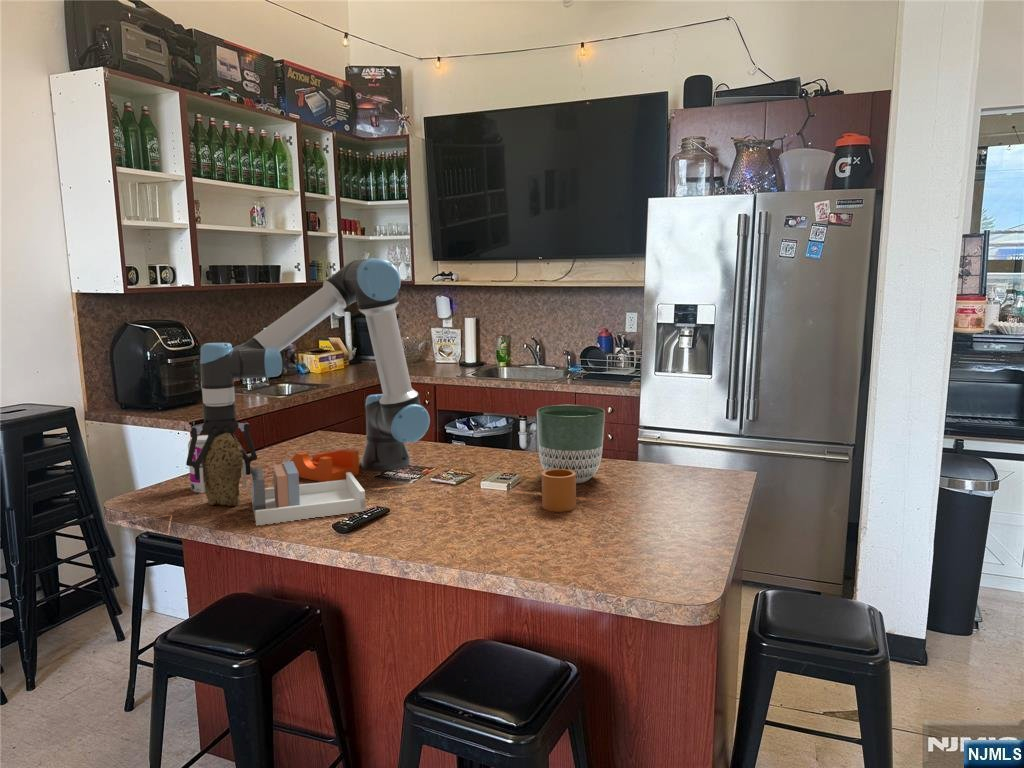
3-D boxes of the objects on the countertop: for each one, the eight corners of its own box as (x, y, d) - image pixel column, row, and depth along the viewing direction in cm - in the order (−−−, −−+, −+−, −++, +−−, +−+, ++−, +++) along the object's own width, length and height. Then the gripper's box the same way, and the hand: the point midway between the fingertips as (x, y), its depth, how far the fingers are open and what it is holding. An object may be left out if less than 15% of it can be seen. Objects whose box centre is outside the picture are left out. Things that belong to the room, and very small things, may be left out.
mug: (585, 501, 183) (585, 468, 182) (568, 514, 173) (569, 479, 171) (553, 496, 187) (554, 464, 186) (535, 509, 177) (536, 475, 175)
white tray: (351, 491, 193) (350, 472, 192) (365, 512, 174) (364, 490, 174) (251, 502, 182) (250, 482, 182) (256, 525, 164) (255, 503, 163)
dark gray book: (262, 498, 180) (260, 466, 179) (266, 513, 168) (264, 479, 167) (252, 499, 179) (250, 467, 178) (255, 515, 167) (253, 480, 166)
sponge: (195, 506, 179) (192, 430, 177) (222, 498, 186) (219, 425, 183) (228, 514, 172) (225, 436, 170) (254, 506, 179) (252, 431, 177)
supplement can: (211, 494, 190) (207, 441, 188) (184, 492, 191) (181, 439, 189) (228, 486, 198) (225, 435, 196) (203, 484, 199) (199, 433, 197)
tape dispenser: (359, 477, 208) (358, 450, 207) (326, 487, 198) (325, 459, 197) (318, 469, 218) (317, 443, 217) (285, 478, 208) (284, 451, 206)
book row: (294, 497, 183) (292, 461, 182) (300, 512, 171) (298, 472, 170) (274, 500, 181) (272, 462, 180) (279, 514, 169) (277, 474, 168)
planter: (526, 488, 195) (527, 413, 192) (549, 471, 213) (549, 403, 210) (593, 495, 188) (594, 418, 185) (611, 477, 206) (612, 407, 203)
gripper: (264, 399, 183) (268, 481, 186) (171, 404, 174) (177, 490, 177) (266, 403, 176) (270, 488, 179) (170, 408, 168) (175, 498, 171)
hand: (224, 489), depth 178 cm, fingers closed on sponge, 9 cm apart
